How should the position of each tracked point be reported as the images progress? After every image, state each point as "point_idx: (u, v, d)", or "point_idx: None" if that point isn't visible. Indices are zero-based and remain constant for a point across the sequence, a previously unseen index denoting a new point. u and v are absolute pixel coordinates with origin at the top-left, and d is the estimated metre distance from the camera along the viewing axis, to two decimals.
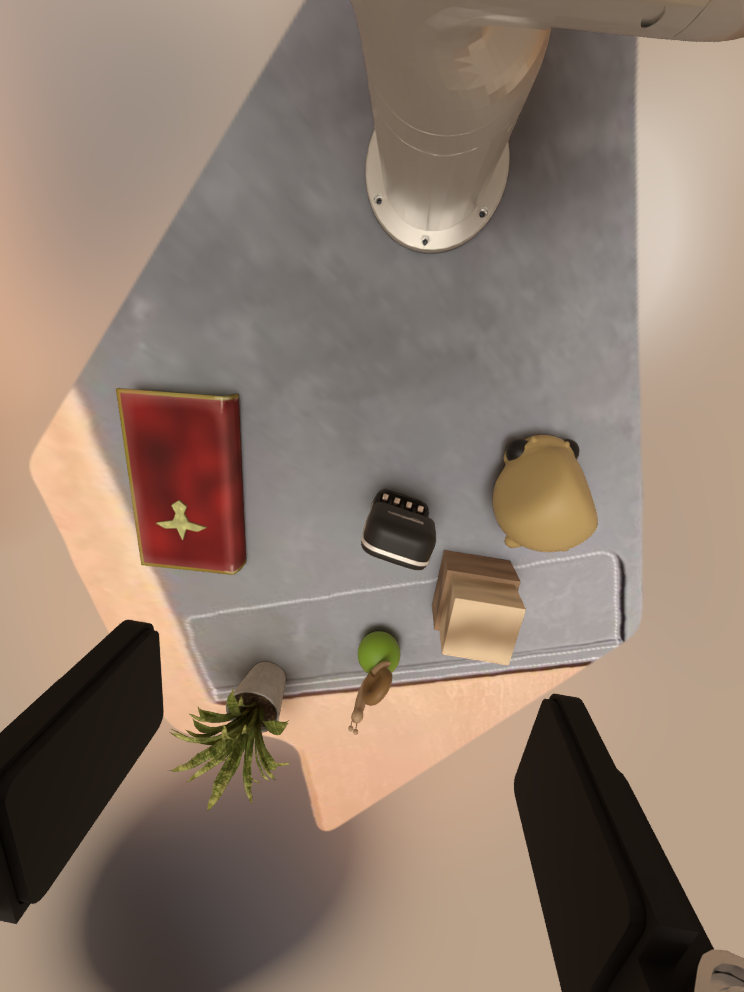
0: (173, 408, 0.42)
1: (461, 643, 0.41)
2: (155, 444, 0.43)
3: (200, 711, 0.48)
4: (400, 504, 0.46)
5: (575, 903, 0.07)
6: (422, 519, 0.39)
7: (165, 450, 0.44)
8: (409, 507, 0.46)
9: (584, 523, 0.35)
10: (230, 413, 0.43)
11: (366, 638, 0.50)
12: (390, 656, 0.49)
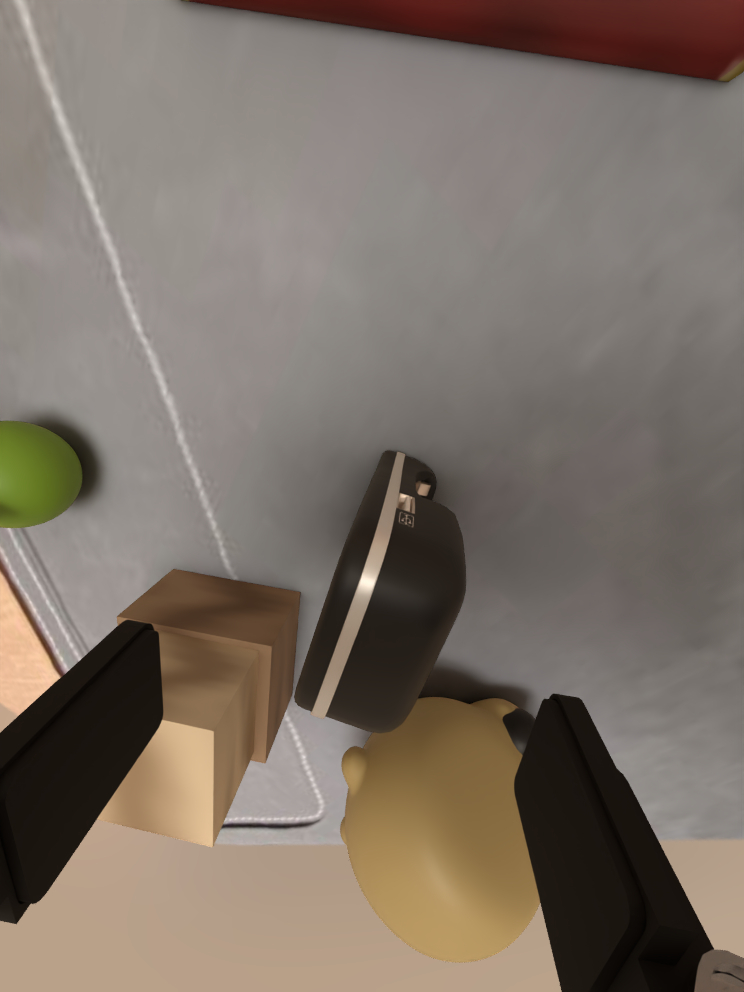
0: None
1: None
2: None
3: None
4: None
5: (575, 903, 0.07)
6: None
7: None
8: None
9: None
10: (724, 25, 0.12)
11: (48, 444, 0.20)
12: (13, 517, 0.19)
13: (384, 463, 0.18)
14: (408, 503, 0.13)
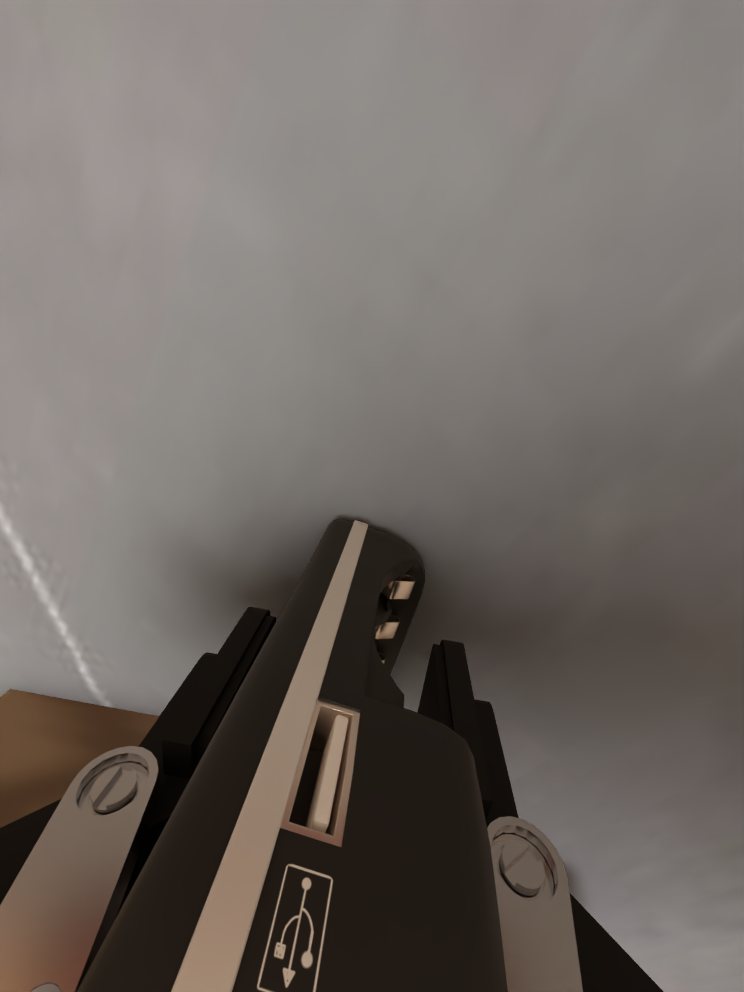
0: None
1: None
2: None
3: None
4: None
5: None
6: None
7: None
8: None
9: None
10: None
11: None
12: None
13: (319, 562, 0.09)
14: (333, 765, 0.05)
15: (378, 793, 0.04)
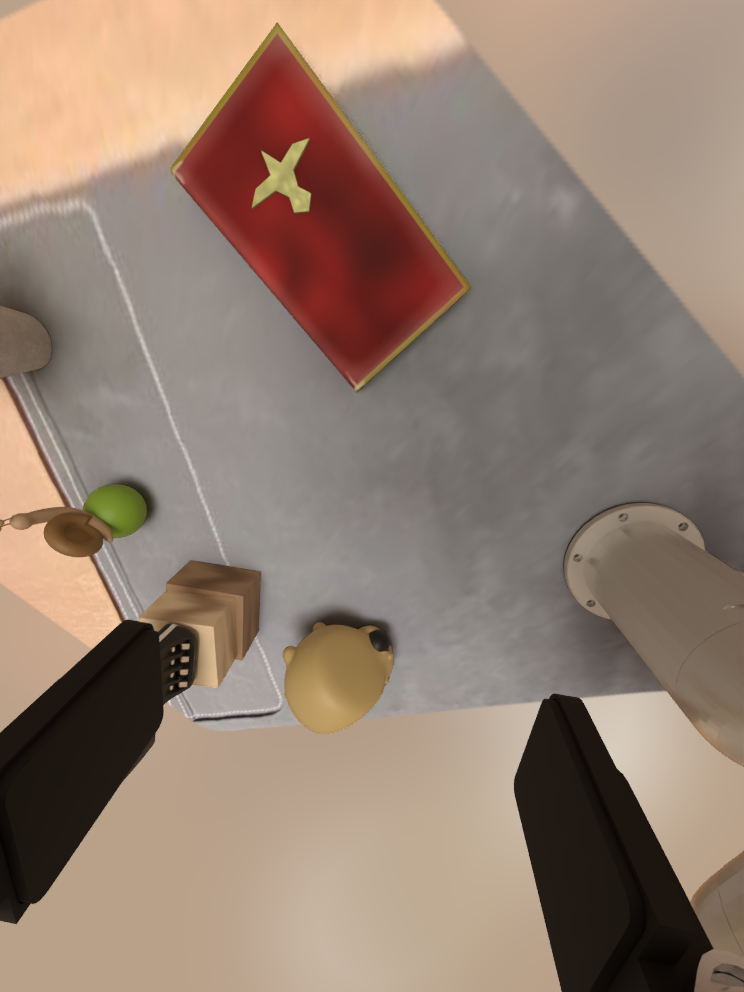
0: (395, 328, 0.32)
1: None
2: (385, 262, 0.30)
3: None
4: (180, 663, 0.35)
5: (575, 903, 0.07)
6: None
7: (370, 266, 0.30)
8: (180, 673, 0.35)
9: (321, 731, 0.37)
10: None
11: (133, 496, 0.40)
12: (118, 533, 0.39)
13: None
14: None
15: None
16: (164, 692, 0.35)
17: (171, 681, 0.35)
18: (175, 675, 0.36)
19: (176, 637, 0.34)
